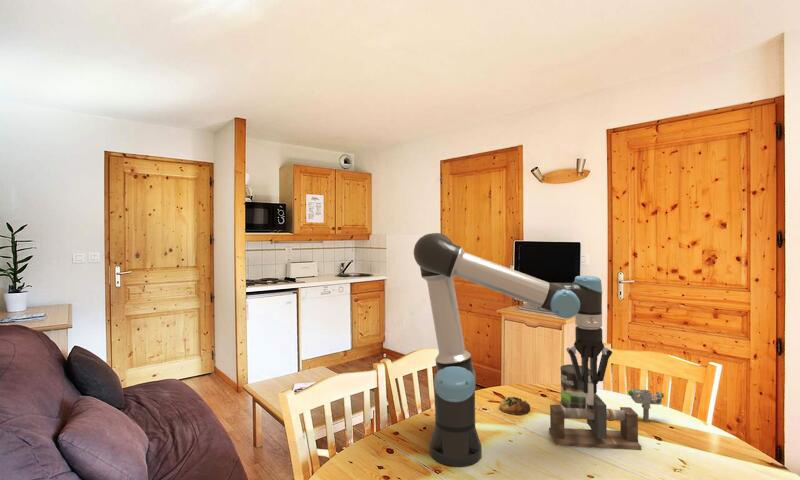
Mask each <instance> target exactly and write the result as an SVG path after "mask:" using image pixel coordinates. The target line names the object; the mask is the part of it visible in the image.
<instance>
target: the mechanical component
mask: <svg viewBox="0 0 800 480" xmlns="http://www.w3.org/2000/svg"><path fill="white" fill-rule="evenodd" d="M628 395H629V397H631V399H632V401H634V403H636V404H641V407H642V409H643V411H642V412H643V413H642V414H643V420H644V422H645V423H646V422H647V423H648V422H650V409H651V408H652V407H651V405H658V406H659V405H662V402H663V399H664V397H665V395H664V392H660V391H656V394H653V393H652V391H651V390H649V389H638V388H637V389H636V388H635V389H633V388H631V389H630V390H629V391H628Z"/></svg>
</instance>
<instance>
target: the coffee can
mask: <svg viewBox="0 0 800 480" xmlns="http://www.w3.org/2000/svg"><path fill="white" fill-rule="evenodd" d="M578 365H579V369H580V373H581V376H582V365H580V364H578ZM588 381H591V379H590V368H589V367H588ZM560 406H561V407H562V408H578V409H587V402H586V393H584V392H583V390H582V381H579V380H578V379H577V378H576V376H575V372H574V369H573V365H572V363H571V364H563V365H560Z"/></svg>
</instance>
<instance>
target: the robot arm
mask: <svg viewBox="0 0 800 480" xmlns="http://www.w3.org/2000/svg"><path fill="white" fill-rule="evenodd" d="M413 257H414V260H415V262H416V264H417V265H418V266H419V269H420V270H419V271H420V275H421V278H422V279H423V280H425V281H426V283H427V288H428V294H429V295H428V296H429V301H430V306H431V313H432V320H433V325H434V331H435V337H436V343H437V349H438V354H437V356H436V357H435V359H434V360H435V365H436V366H435V367H436V371H437V372H436V373H435V377H434V382H433V388H434V421H435V422H434V428H433V432H432V435H431V437H430V441H429V454H430V457H431V458H432V459H433V460H435V461H437V462H438V463H440V464H441V465H442V464H443V465H446V466H450V467H467V466H470V465H473V464H475V463H477V462H478V461H480V460H481V458H482V456H483V455H482V453H483V451H482V443H481V440H480V437H479V435H478V431H477V428H476V371H475V369H474V365H473V359H472V355H471V353H470V352H469V351H467V349H466V347H465V342H464V341H465V340H464V335H463V330H462V323H461V322H462V321H461V317H460V311H459V304H458V299H457V293H456V288H455V287H456V286H455V281H454V278H455V277H457V278H460V279H463V280H465V281H468V282H470V283H473V284H475V285H478V286H482V287H484V288H487V289H490V290H492V291H495V292H498V293H501V294H503V295H506V296H508V297H511V298H514V299H516V300H518V301H522V302H525V303H526V304H529V305H532V306H535V307H538V308H540V309H543V310H545V311H548V312H550V313H553V314H554V315H555V316H557V317H560V318H562V319H570V318H573V317H574V316H575V317H574V318H575V320H574V322H575V325H576V326H575V336H574V337H575V341H574V343H573V345H572V346H571V347H567V348H566V351H567V353H568V355H569V357H570V360H571V365H573V369H574V372H575V376H576V378H577V379H578V380H579V381H582V390H583V392H584V393H586V402H587V404H588V405H594V393H596V394H597V392H598V389H597V387H598V386H597V385H598V384H599V382H604V380H605V376H606V375H605V374H606V372H607V367H608V362H609V359H610V357H611V355H612V354H613V351H612V350H611V349H610V348H607V347H605V345H604V343H603V328H602V327H603V287H602V286H603V285H602V279H601V278H600V277H599V276H594V275H577V276H575V277H574V280H573V282H548V281H546V280H542V279H540V278H537V277H535V276H533V275H532V276H531V275H529V274H527V273H523V272H521V271H518V270H515V269H512V268H510V267H507V266H504V265H501V264H499V263H496V262H493V261H490V260H488V259H486V258H482V257H480V256H477V255H474V254H472V253H469V252H466V251H465V250H464V247H462V246H459V245H457V244H456V243H453V241H452V240H451V239H450V237H448V236H447V235H445V234H443V233H440V232H439V233H438V232H432V233H426V234H424V235H423V236H421V237H419V238H418V240H417V241H416V243H415V245H414V247H413ZM577 352H578V354H579V356H580V359H581V360H580V361H581V362H580V363H581V366H582V376H581V373H580V369H579V365H580V364H579V362H578V358H577V356H576V354H577ZM600 354H601V356H600V359H599V360H600V361H599V365H598V356H599V355H600ZM589 367H590V368H589ZM588 368H589V369H590V379H591V381H588Z"/></svg>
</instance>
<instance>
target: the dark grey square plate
mask: <svg viewBox="0 0 800 480" xmlns="http://www.w3.org/2000/svg"><path fill="white" fill-rule="evenodd" d="M587 409H594V410H595V420H591V419H586V424H587V425H588V427H589V428H590V429H592V431H593V432H594V434H595V435H596V436H597V438H598V439H607V430H608V429H607V424H608V423H607V422H608V420H607V411H606V409H607V404H606V402H604V401H603V400H602V398H601V397H600V396H599V394H597V392H596V393H594V405H588V404H587Z"/></svg>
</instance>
